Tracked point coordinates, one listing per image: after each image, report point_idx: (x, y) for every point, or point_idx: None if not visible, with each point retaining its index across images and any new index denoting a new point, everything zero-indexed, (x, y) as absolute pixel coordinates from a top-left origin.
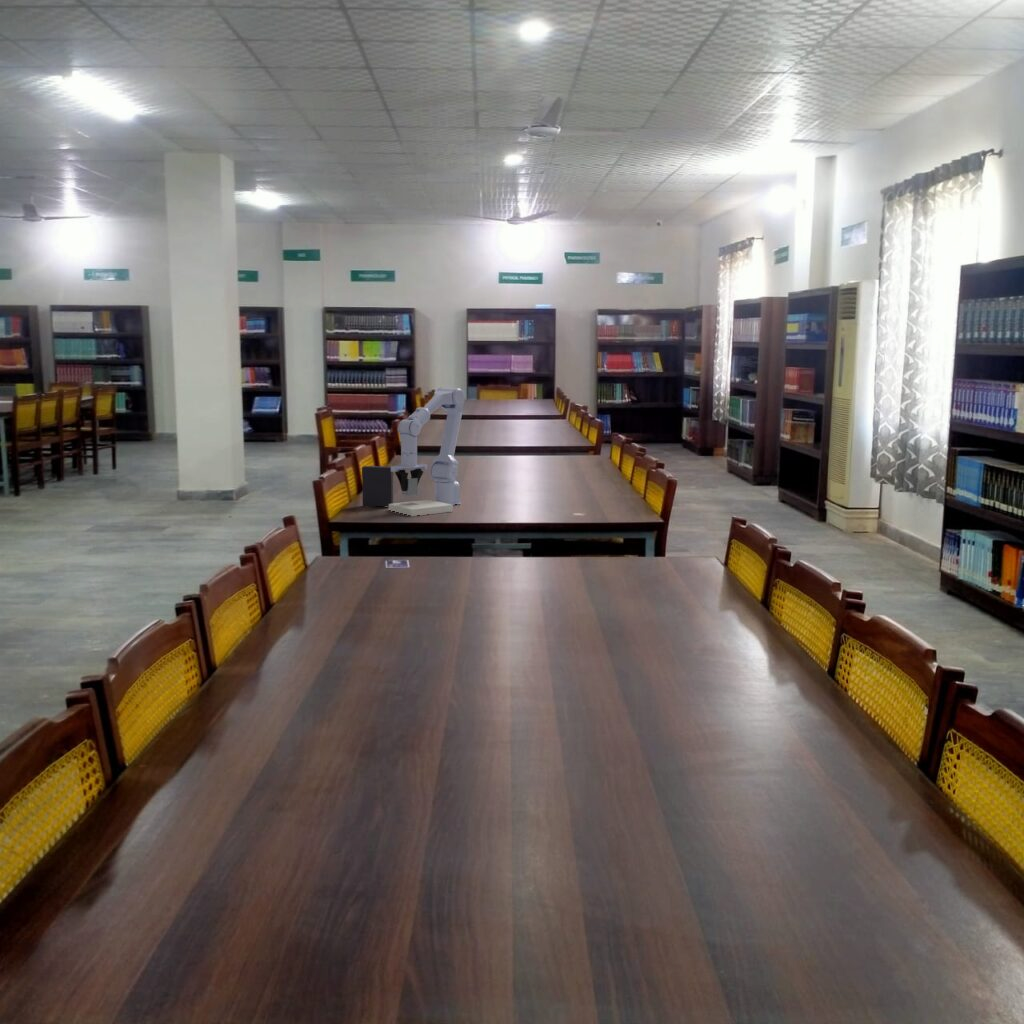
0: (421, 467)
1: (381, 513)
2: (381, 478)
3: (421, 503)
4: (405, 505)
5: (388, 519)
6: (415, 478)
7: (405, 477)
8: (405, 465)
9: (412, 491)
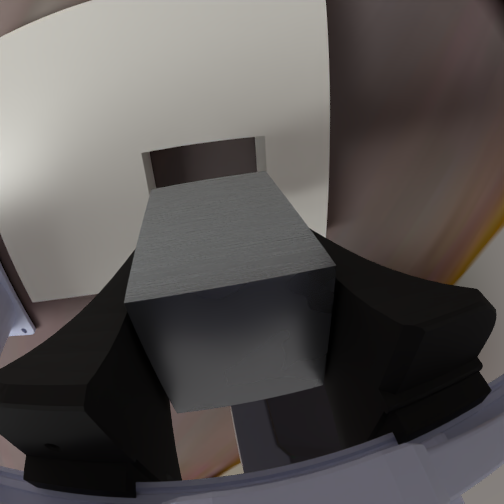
0: (20, 500)
1: (384, 180)
2: (325, 453)
3: (113, 189)
4: (267, 153)
5: (442, 15)
6: (171, 293)
7: (392, 286)
8: (463, 501)
9: (216, 191)
